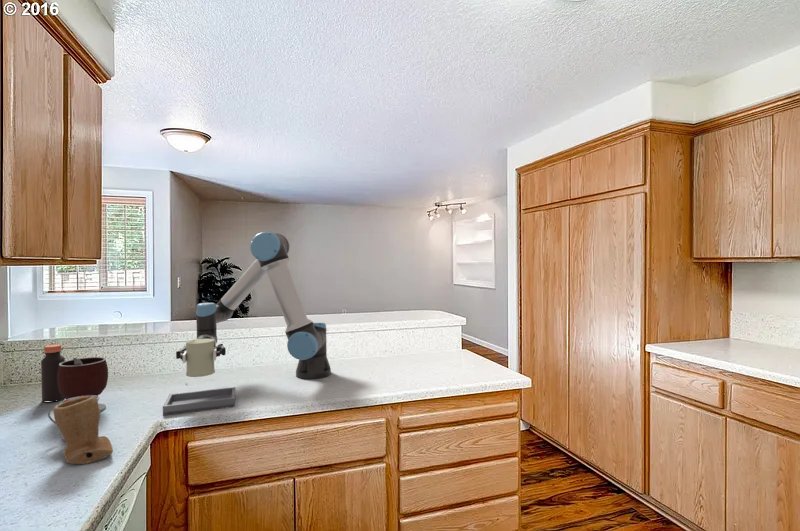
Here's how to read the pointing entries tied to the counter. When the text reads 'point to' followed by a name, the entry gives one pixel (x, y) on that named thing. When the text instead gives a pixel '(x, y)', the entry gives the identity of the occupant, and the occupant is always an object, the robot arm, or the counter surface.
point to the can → (199, 357)
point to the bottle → (51, 373)
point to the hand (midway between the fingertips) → (199, 357)
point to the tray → (199, 401)
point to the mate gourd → (83, 377)
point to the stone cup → (82, 430)
